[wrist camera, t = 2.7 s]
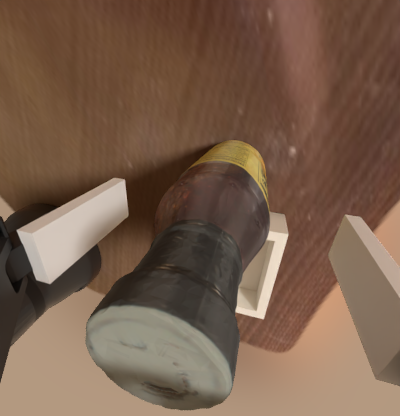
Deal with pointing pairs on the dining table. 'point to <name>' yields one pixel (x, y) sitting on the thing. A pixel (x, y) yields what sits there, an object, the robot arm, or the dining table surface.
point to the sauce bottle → (187, 286)
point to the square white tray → (263, 270)
